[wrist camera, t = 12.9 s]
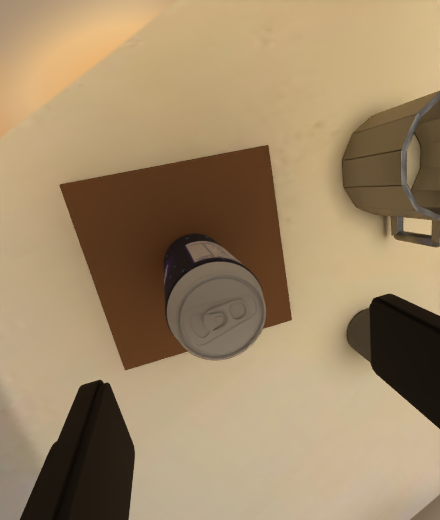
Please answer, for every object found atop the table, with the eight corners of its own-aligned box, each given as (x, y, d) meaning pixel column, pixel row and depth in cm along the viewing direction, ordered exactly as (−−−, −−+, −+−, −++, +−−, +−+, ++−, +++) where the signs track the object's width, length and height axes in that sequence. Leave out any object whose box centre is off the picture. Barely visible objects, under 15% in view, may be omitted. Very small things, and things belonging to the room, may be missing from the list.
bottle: (337, 342, 32) (477, 460, 18) (362, 300, 32) (527, 388, 17) (371, 356, 34) (523, 472, 20) (395, 316, 33) (570, 408, 19)
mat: (63, 185, 22) (59, 184, 21) (264, 146, 25) (268, 144, 24) (126, 364, 27) (124, 370, 26) (287, 316, 30) (292, 320, 29)
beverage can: (153, 244, 24) (147, 291, 12) (212, 223, 25) (257, 249, 13) (176, 299, 26) (188, 383, 14) (230, 277, 26) (284, 342, 15)
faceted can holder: (339, 121, 26) (401, 96, 19) (425, 105, 27) (510, 77, 21) (347, 247, 29) (401, 263, 23) (423, 227, 31) (494, 236, 24)
